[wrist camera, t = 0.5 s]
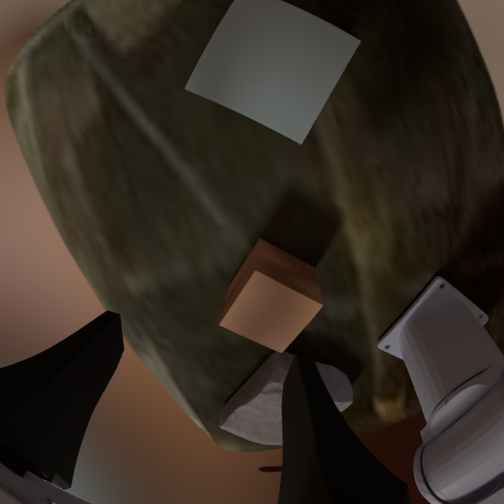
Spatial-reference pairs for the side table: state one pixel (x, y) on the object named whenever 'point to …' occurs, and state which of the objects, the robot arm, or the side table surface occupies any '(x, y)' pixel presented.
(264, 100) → the top block
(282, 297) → the terracotta cube
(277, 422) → the stone block
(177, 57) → the side table surface
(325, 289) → the side table surface
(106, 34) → the side table surface
